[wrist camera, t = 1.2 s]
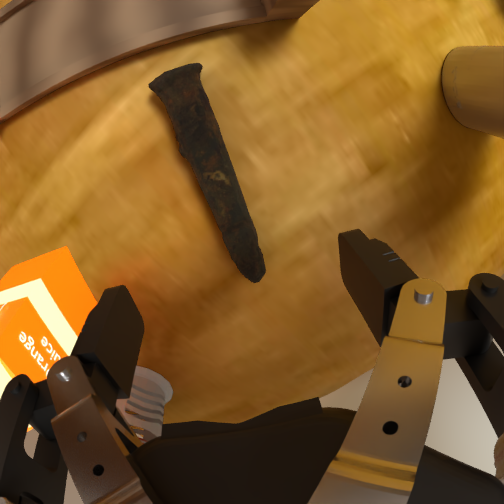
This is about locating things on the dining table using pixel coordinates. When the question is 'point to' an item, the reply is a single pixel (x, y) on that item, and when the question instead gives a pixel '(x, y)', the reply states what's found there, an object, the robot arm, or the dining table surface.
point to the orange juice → (40, 315)
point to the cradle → (106, 36)
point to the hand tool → (210, 163)
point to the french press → (146, 402)
